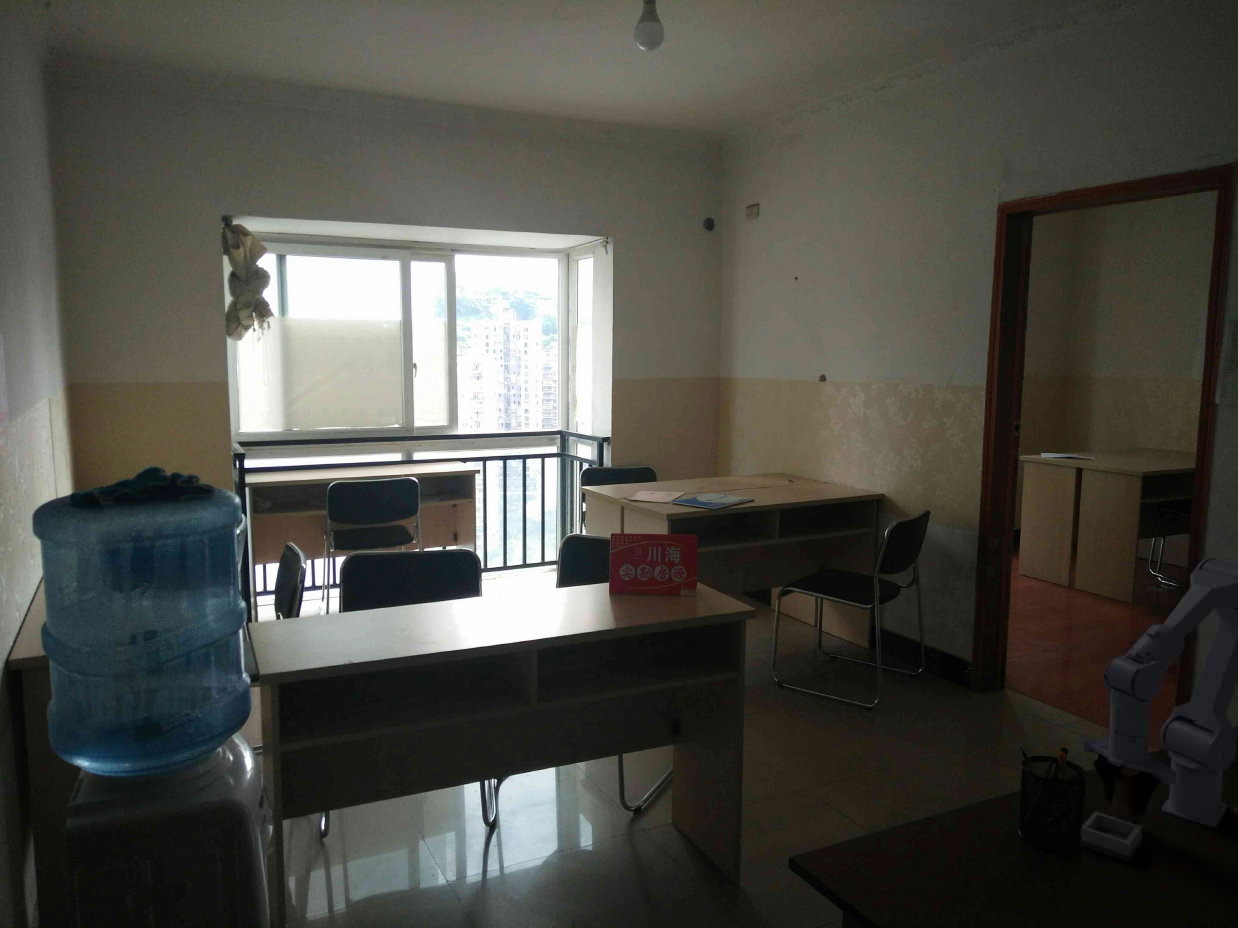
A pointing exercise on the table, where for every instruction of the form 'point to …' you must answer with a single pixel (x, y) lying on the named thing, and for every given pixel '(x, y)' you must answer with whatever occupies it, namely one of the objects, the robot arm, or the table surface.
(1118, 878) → the table surface
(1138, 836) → the socket block
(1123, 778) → the walnut peg
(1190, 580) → the robot arm
